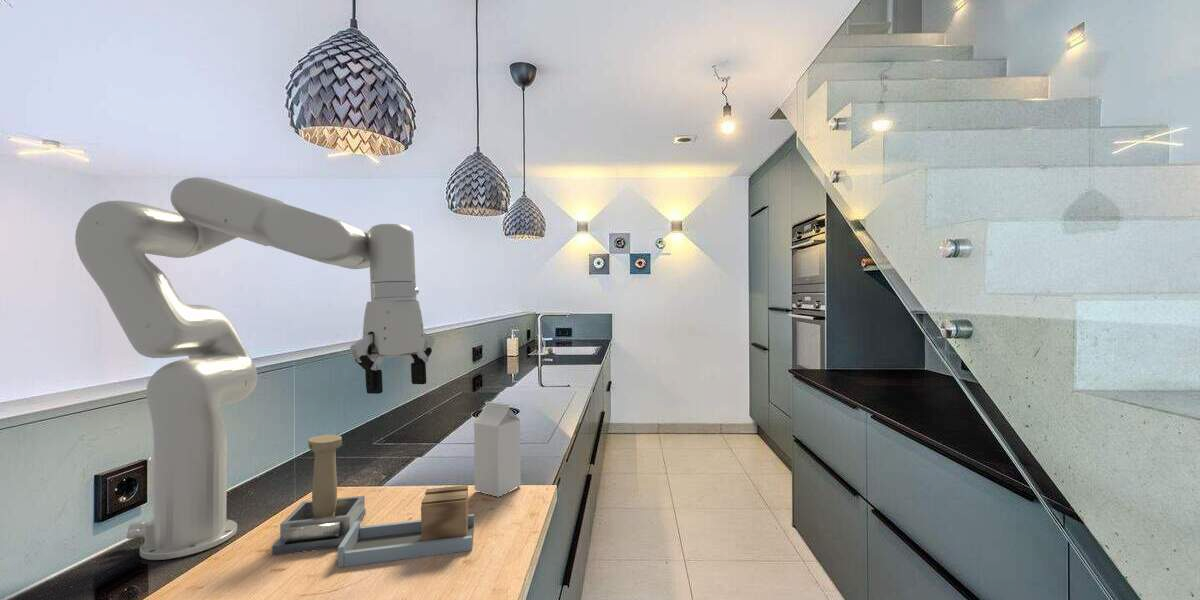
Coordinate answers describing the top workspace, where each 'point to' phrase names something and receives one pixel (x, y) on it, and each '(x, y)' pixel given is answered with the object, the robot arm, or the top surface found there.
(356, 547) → the bay
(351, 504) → the gray square tray
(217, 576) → the top surface
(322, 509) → the handle
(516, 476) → the milk carton
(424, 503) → the crate
